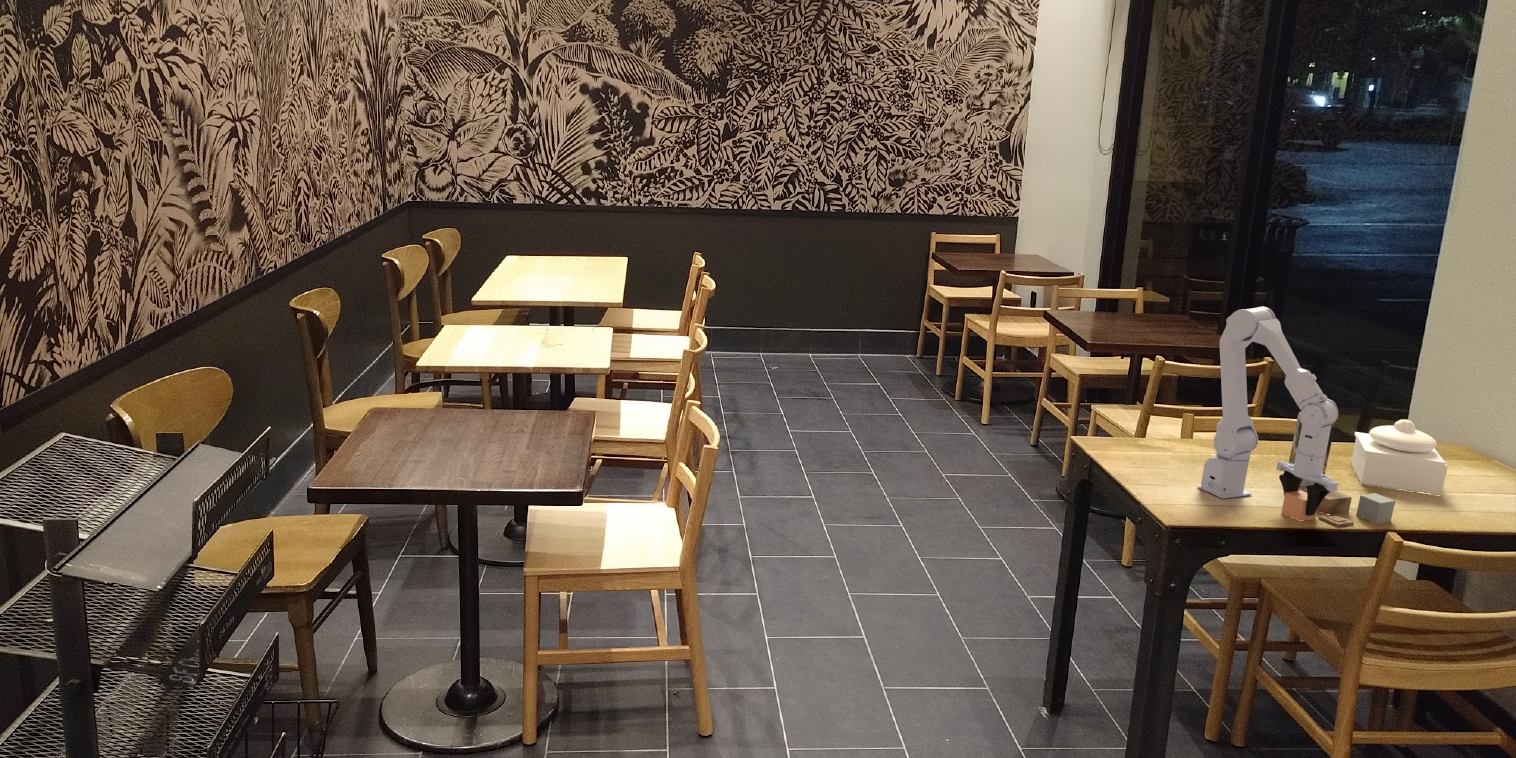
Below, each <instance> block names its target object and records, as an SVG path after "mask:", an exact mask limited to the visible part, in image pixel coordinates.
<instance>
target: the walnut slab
mask: <svg viewBox="0 0 1516 758" xmlns="http://www.w3.org/2000/svg"><path fill="white" fill-rule="evenodd" d="M1303 492H1306V493H1307V488H1304V489H1303ZM1352 498H1353V496H1350V495H1348V494H1345V493H1343V492H1341V491H1338V490H1337V491H1330V492H1329V493H1328V494H1327V495H1326V497H1325V498H1324V499H1323V500H1322V502H1321V503H1320V505H1319V506H1318V509H1317V512H1318V511H1320V512H1322V513H1324V514H1323V515H1325V514H1336V515H1338V514H1337V513H1340V514H1346V513H1345V512H1350V507H1351V503H1352ZM1320 512H1319V513H1320ZM1322 513H1321V514H1322Z"/></svg>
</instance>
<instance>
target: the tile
mask: <svg viewBox="0 0 1516 758" xmlns="http://www.w3.org/2000/svg"><path fill="white" fill-rule="evenodd" d="M1319 518H1320V519H1319ZM1318 519H1319V520H1321V519H1322V520H1321V521H1323V520H1324V522H1325V521H1326V522H1325V523H1328V524H1330V525H1332V526H1334V527H1337V528H1341V527H1346V526H1348V527H1349V526H1354V523H1355V522H1354V521H1353V520H1350V519H1348V518H1345V517H1343V516H1341V515H1340V514H1330V515H1325V514H1323V515H1319V516H1318Z"/></svg>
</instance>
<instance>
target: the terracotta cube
mask: <svg viewBox="0 0 1516 758" xmlns="http://www.w3.org/2000/svg"><path fill="white" fill-rule="evenodd" d="M1283 497H1284V496H1283ZM1306 505H1307V493H1306V492H1304V490H1298V491H1294V492H1286V493H1285V497H1284V498H1283V503H1282V506H1281V507H1282V508H1281V514H1282V515H1284V514H1286V515H1288V516H1289V518H1291V517H1294V518H1295V519H1297V520H1300V521H1299V522H1302V521H1301V520H1307V521H1309V520H1308V519H1313V520H1316V519H1317V514H1318V513H1317V512H1318V511H1317V510H1316V512H1315V514H1314V515H1311V516H1307V515H1306ZM1317 509H1318V508H1317ZM1286 515H1285V516H1286ZM1288 516H1287V517H1288ZM1315 518H1316V519H1315ZM1295 519H1294V520H1295ZM1297 520H1296V521H1297Z"/></svg>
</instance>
